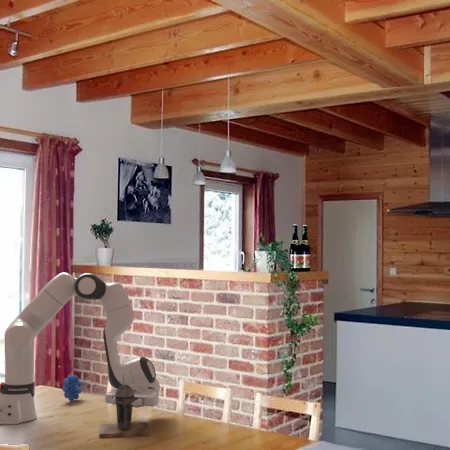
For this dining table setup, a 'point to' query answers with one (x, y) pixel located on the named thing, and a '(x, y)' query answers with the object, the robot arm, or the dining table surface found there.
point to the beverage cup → (124, 405)
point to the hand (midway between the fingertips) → (123, 403)
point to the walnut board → (123, 430)
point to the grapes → (72, 387)
